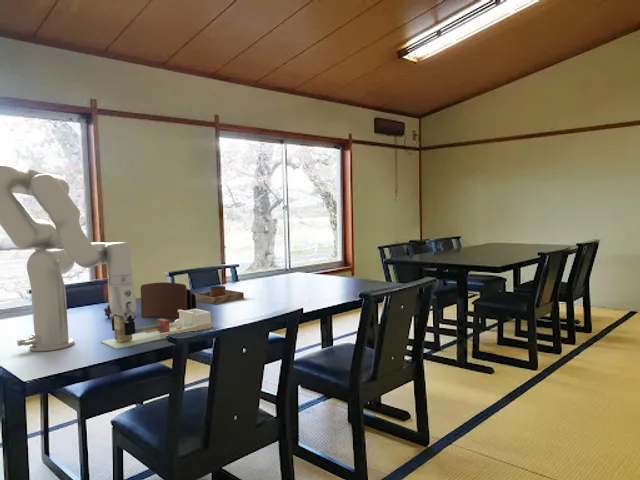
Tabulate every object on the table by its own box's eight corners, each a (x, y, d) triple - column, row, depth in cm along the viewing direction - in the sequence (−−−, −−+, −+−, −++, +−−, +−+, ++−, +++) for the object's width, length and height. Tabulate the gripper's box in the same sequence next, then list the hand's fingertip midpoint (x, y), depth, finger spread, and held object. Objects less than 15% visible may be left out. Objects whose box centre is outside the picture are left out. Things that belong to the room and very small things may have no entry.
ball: (177, 330, 170) (176, 320, 169) (172, 329, 172) (171, 319, 172) (186, 328, 172) (185, 318, 172) (181, 327, 175) (180, 317, 175)
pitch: (116, 349, 150) (115, 329, 150) (100, 342, 159) (99, 323, 158) (212, 327, 175) (212, 310, 175) (195, 322, 184) (194, 306, 183)
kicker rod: (120, 342, 155) (119, 317, 154) (114, 339, 158) (113, 315, 158) (169, 331, 167) (168, 308, 166) (162, 329, 170) (161, 307, 170)
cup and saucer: (235, 298, 233) (235, 285, 233) (220, 303, 222) (220, 289, 222) (215, 297, 238) (214, 284, 238) (199, 301, 228) (199, 288, 227)
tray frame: (213, 304, 219) (213, 297, 218) (193, 300, 230) (192, 294, 230) (243, 298, 231) (243, 292, 230) (223, 295, 243) (222, 289, 242)
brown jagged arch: (128, 320, 193) (115, 304, 191) (109, 330, 195) (97, 314, 193) (140, 307, 204) (128, 291, 202) (122, 316, 206) (110, 301, 204)
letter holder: (187, 317, 194) (185, 282, 193) (140, 317, 197) (139, 282, 196) (197, 312, 204) (195, 279, 203) (152, 312, 207) (151, 279, 206)
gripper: (143, 280, 153) (146, 334, 154) (120, 276, 165) (123, 326, 167) (120, 284, 148) (123, 339, 149) (98, 279, 160) (101, 330, 161)
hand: (123, 332), depth 158 cm, fingers open, 9 cm apart
